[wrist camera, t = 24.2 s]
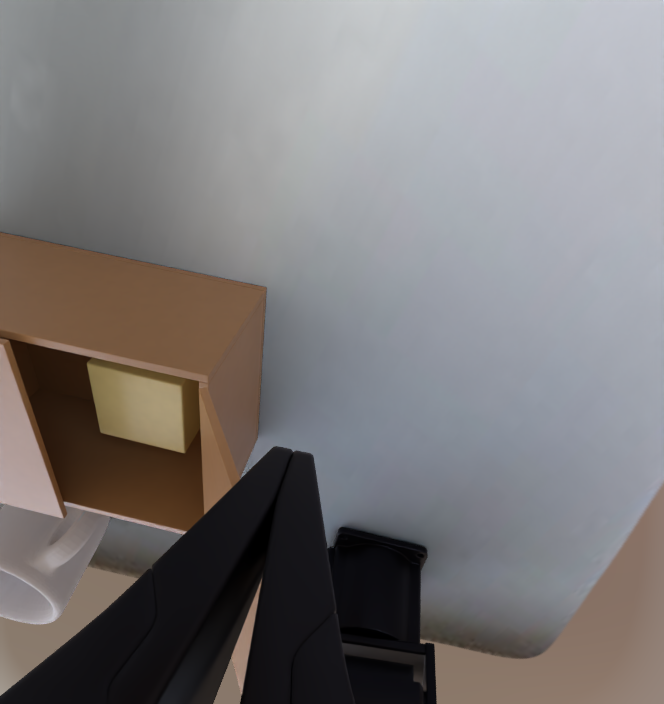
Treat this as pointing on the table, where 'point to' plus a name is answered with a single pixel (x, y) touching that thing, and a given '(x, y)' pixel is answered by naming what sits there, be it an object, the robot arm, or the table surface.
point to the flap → (215, 485)
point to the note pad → (145, 404)
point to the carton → (125, 348)
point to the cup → (44, 560)
